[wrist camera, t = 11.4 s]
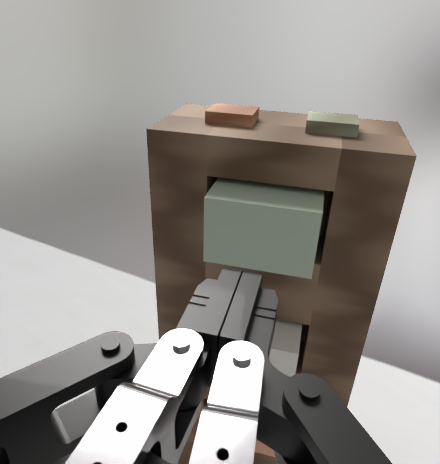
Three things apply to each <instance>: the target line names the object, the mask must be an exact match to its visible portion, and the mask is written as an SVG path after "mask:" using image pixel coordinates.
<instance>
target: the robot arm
mask: <svg viewBox="0 0 440 464" xmlns="http://www.w3.org/2000/svg"><path fill="white" fill-rule="evenodd" d="M262 283H263V274H259V273H253V272H247V271H241V270H235V269H229V268H223V269H222V271H221V273H220V275H219V278H218V280H215V279H209V278H207V279H206V280H204V281H203V282H202V283H200V284H199V285H198V286H197V288H196V290H195V292H194V294H193V296H192V298H191V300H190V303H189V304H188V306H187V308H186V310H185V312H184V314H183V316H182V318H181V319H180V321H179V323H178V325H177V327H176V329H175V330H172V331H170V332H168V333H166V334H165V335H164V336H163V337H162V338H161V340H160V341H159V342H158V343H153V344H136V345H134V343H133V340H132V338H131V337H130V336H129V335H127V334H126V333H123V332H118V331H112V332H106V333H103V334H101V335H99V336H96V337H94V338H92V339H89V340H87V341H85V342H82V343H80V344H78V345H76V346H73V347H71V348H69V349H66V350H64V351H62V352H59V353H57V354H55V355H53V356H50V357H48V358H46V359H43V360H41V361H39V362H36V363H34V364H32V365H30V366H27V367H25V368H23V369H20V370H18V371H16V372H13V373H11V374H9V375H7V376H4V377H2V378H0V464H178V461H179V458H180V455H181V453H182V451H183V448H184V446H185V444H186V442H187V439H188V437H189V435H190V433H191V430H192V428H193V426H194V423H195V421H196V419H197V417H198V414H199V412H200V410H201V407H202V399H203V397H204V394H205V391H206V388H207V387H211V390H210V394H209V398H208V402H207V405H204V407H203V409H202V413H201V417H200V421H199V425H198V429H197V433H196V437H195V441H194V445H193V449H192V453H191V457H190V461H189V464H253V460H254V451H255V442H256V439H257V440H258V441H260V442H262V443H263V444H265V445H266V446H268V447H269V448H271V449H273V450H274V454H275V457H276V460H277V462H278V464H392V463H391V462H390V460H389V459H388V458H387V457H386V455H385V454H384V453H383V452H382V450H381V449H380V448H379V447H378V445H377V444H376V443H375V442H374V440H373V439H372V438H371V437H370V435H369V434H368V433H367V432H366V430H365V429H364V428H363V427H362V426H361V424H360V423H359V422H358V421H357V419H356V418H355V417H354V416H353V414H352V413H351V412H350V411H349V409H348V408H347V407H346V406H345V404H344V403H343V402H342V401H341V399H340V398H339V397H338V396H337V394H336V393H335V392H334V391H333V389H332V388H331V387H330V386H329V385H328V384H327V382H325V381H324V380H323V379H321V378H320V377H318V376H316V375H313V374H308V373H299V374H295V375H293V376H291V377H289V376H287V375H285V374H283V373H282V372H280V371H279V370H277V369H276V368H275V367H274V366H273V365H272V363H271V362H270V360H269V355H270V350H271V346H272V341H273V336H274V330H275V323H276V315H277V307H278V298H277V295H276V293H275V290H271V289H266V288H262ZM92 388H94V389H95V390H93V391H91V392H89V393H87V394H85V395H83V396H81V397H79V398H77V399H75V400H73V401H71V402H69V403H67V404H65V405H63V406H61V407H59V408H57V409H55V408H56V407H57V406H59V405H60V404H62V403H64V402H66V401H68V400H70V399H72V398H74V397H76V396H78V395H80V394H82V393H84V392H86V391H88V390H90V389H92ZM54 409H55V410H54Z"/></svg>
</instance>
